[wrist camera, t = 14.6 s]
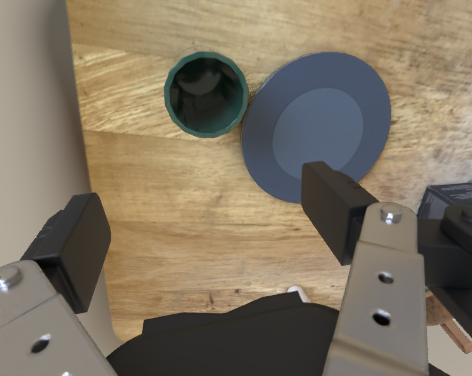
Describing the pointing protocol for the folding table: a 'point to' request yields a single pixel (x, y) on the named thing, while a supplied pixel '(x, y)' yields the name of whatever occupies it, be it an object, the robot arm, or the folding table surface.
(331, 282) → the folding table surface
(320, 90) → the plate
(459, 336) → the mug
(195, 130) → the cup
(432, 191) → the small box
